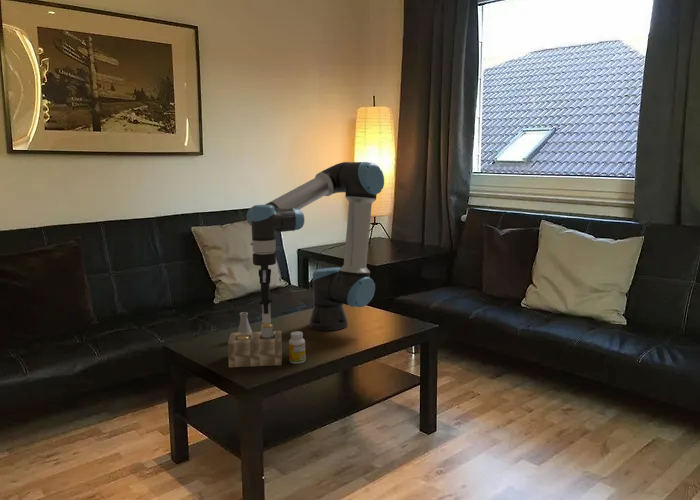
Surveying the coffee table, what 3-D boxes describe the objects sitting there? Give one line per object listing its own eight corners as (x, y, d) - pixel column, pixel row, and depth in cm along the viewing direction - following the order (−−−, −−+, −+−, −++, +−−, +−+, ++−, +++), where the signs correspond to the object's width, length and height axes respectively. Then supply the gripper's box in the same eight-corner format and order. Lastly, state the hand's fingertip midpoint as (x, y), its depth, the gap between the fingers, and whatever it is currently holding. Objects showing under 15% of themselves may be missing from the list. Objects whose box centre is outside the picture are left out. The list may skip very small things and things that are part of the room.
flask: (250, 342, 227) (249, 316, 226) (231, 341, 229) (230, 315, 227) (257, 336, 234) (256, 311, 233) (239, 335, 236) (238, 310, 234)
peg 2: (274, 345, 210) (273, 322, 209) (273, 349, 206) (272, 326, 205) (262, 346, 210) (261, 323, 209) (261, 350, 206) (260, 326, 205)
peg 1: (250, 357, 210) (249, 335, 209) (249, 361, 206) (248, 338, 205) (238, 358, 210) (237, 335, 208) (237, 362, 206) (236, 339, 205)
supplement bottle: (289, 358, 209) (288, 330, 208) (305, 358, 210) (304, 330, 208) (289, 364, 204) (288, 335, 202) (305, 363, 204) (304, 335, 203)
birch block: (281, 352, 215) (281, 330, 214) (281, 364, 203) (280, 341, 202) (232, 355, 214) (231, 332, 212) (228, 367, 202) (227, 343, 200)
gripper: (253, 249, 209) (256, 317, 213) (251, 256, 196) (254, 328, 200) (276, 248, 210) (278, 316, 213) (275, 255, 197) (277, 327, 201)
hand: (266, 322), depth 207 cm, fingers closed
